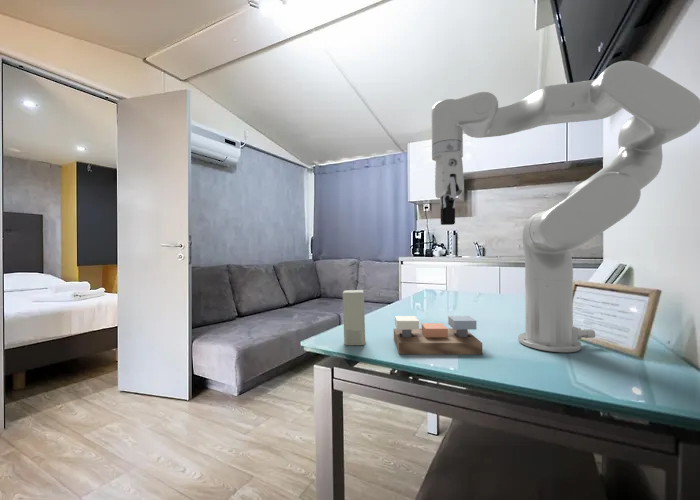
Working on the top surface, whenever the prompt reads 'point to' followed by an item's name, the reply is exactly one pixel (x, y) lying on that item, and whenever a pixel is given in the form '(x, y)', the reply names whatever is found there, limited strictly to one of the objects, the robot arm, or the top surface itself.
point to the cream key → (406, 324)
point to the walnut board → (436, 343)
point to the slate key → (462, 324)
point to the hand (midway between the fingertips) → (447, 224)
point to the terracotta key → (434, 330)
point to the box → (353, 317)
